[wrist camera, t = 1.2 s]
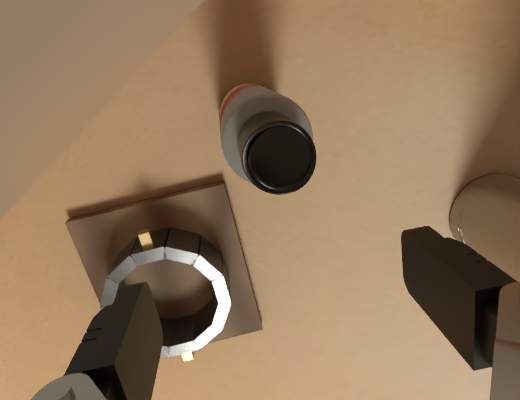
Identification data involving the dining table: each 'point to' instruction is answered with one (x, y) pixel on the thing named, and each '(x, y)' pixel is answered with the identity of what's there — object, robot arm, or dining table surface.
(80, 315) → the dining table surface
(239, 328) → the base plate
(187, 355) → the ring
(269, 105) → the lotion bottle
